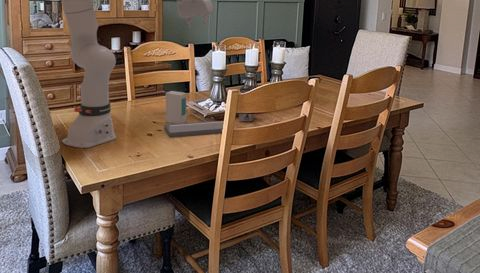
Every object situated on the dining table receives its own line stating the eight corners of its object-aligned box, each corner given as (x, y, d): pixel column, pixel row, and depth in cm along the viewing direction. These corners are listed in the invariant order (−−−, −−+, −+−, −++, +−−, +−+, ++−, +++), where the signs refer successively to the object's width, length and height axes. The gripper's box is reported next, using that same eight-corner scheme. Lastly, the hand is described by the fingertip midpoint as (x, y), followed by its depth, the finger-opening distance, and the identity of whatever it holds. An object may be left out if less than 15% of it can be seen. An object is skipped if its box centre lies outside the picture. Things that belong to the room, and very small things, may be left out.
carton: (180, 124, 230) (180, 95, 226) (166, 122, 233) (165, 92, 229) (186, 121, 235) (186, 93, 230) (171, 119, 238) (171, 90, 233)
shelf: (170, 137, 213) (169, 126, 211) (164, 128, 224) (164, 118, 222) (225, 132, 221) (225, 121, 220) (217, 124, 232) (217, 114, 230)
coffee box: (242, 116, 246) (243, 84, 241) (255, 117, 245) (256, 85, 240) (238, 121, 238) (239, 88, 233) (251, 122, 237) (253, 89, 231)
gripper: (170, 0, 231) (179, 29, 236) (201, -6, 218) (209, 25, 222) (180, -3, 236) (188, 26, 240) (211, -9, 222) (218, 21, 227)
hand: (198, 25), depth 231 cm, fingers open, 8 cm apart
